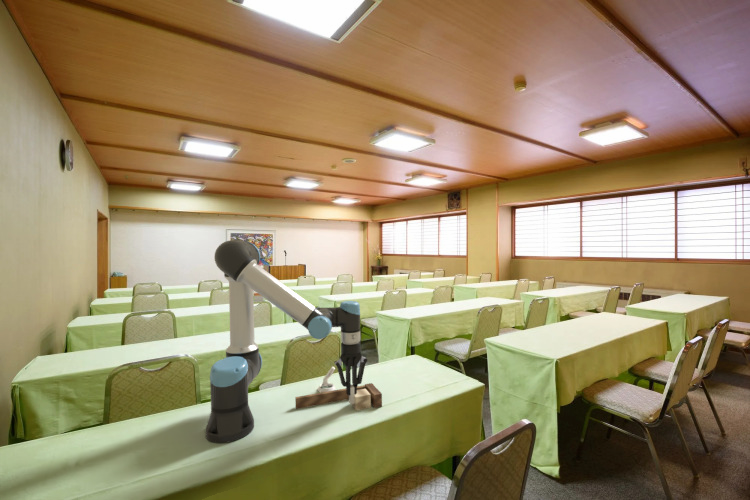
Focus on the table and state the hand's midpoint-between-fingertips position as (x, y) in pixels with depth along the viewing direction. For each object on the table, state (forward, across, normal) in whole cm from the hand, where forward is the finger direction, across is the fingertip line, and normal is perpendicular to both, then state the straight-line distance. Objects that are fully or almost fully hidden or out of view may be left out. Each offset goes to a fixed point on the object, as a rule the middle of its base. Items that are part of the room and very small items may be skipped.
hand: (351, 402), depth 131 cm
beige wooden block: (+2, +4, 0) cm, 4 cm away
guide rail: (+2, -4, +2) cm, 5 cm away
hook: (+2, -5, +20) cm, 21 cm away
